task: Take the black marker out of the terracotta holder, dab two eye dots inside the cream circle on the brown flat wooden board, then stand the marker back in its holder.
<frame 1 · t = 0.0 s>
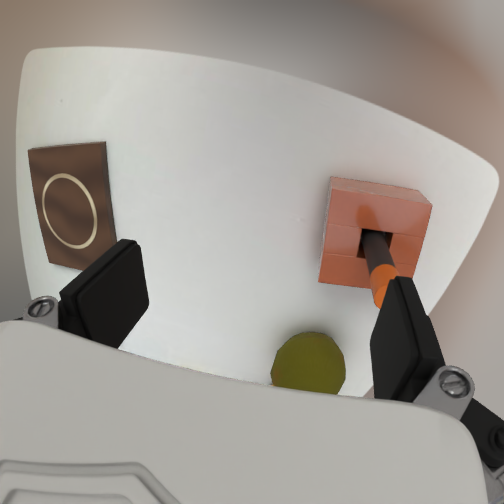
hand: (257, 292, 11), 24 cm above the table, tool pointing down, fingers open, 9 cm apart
apple: (311, 344, 44), on the table
brown flat wooden board: (72, 209, 42), on the table
holder: (368, 226, 34), on the table
marker: (377, 254, 28), in the holder
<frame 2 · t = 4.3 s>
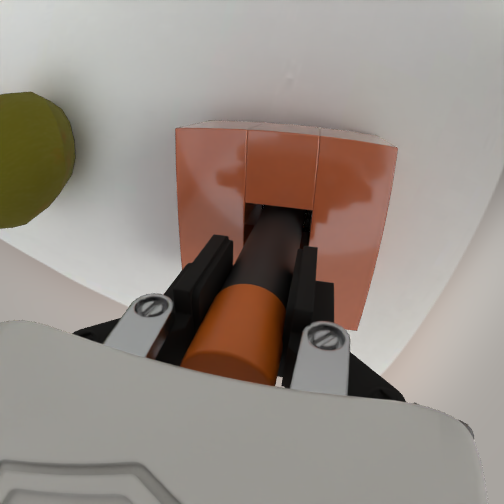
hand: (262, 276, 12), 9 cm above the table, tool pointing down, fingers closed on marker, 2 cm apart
apple: (56, 143, 21), on the table
holder: (287, 205, 20), on the table
marker: (269, 257, 14), in the holder, touching gripper
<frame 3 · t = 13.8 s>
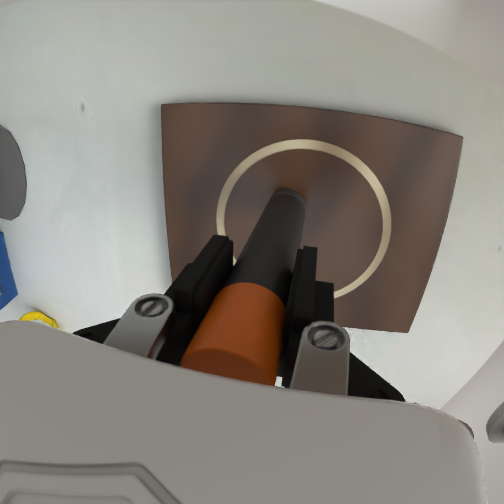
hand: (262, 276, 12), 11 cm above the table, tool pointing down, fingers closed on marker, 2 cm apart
cup: (0, 173, 26), on the table
brown flat wooden board: (304, 222, 22), on the table
watch: (49, 318, 35), on the table
marker: (269, 258, 14), point 9 cm above the table, touching gripper
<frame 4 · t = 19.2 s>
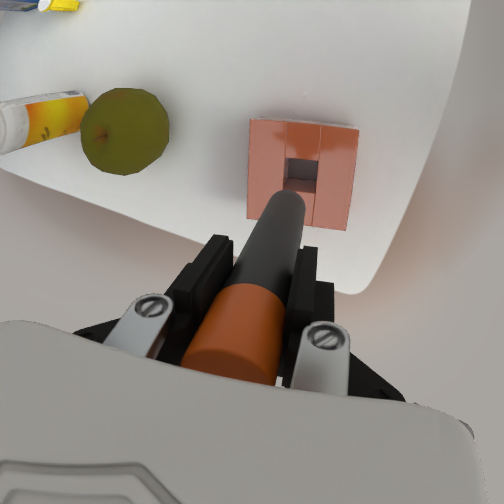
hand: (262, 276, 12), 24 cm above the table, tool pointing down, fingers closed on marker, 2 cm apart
apple: (148, 125, 35), on the table
beer can: (78, 110, 36), on the table
holder: (303, 165, 34), on the table
watch: (72, 7, 28), on the table
marker: (269, 258, 14), point 23 cm above the table, touching gripper
when the fingers open (9 cm above the table, at t = 23.6 s): marker stays where it is, resting in holder.
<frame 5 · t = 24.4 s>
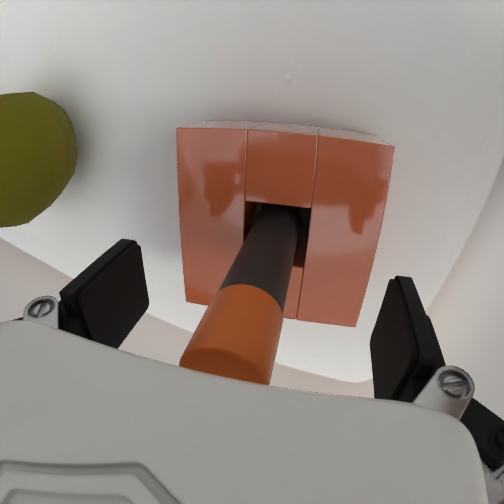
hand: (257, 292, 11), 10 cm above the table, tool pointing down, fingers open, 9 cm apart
apple: (57, 142, 21), on the table
holder: (286, 203, 20), on the table
marker: (266, 258, 14), in the holder
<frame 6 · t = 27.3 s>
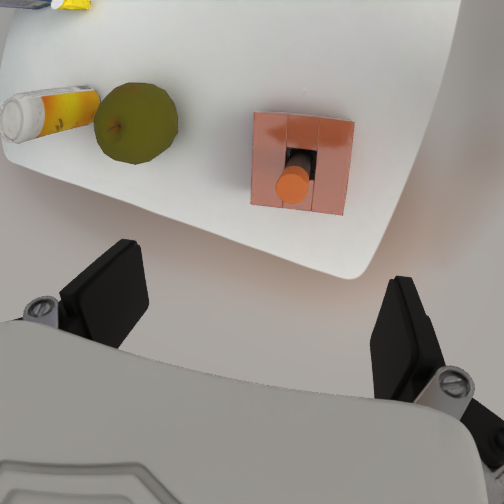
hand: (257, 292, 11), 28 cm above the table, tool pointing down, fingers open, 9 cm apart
apple: (157, 118, 37), on the table
beer can: (88, 104, 38), on the table
holder: (303, 155, 36), on the table
watch: (83, 6, 30), on the table
marker: (297, 170, 30), in the holder
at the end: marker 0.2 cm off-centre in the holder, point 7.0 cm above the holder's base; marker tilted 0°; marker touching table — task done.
